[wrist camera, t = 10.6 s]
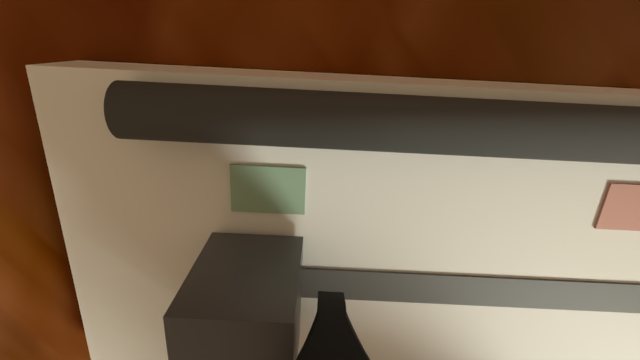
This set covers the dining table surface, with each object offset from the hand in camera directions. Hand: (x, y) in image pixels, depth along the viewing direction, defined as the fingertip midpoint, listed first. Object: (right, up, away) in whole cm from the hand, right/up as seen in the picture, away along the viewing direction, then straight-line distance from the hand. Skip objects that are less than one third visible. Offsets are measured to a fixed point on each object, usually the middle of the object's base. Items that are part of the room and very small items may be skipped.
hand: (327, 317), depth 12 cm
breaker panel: (+4, +1, +4) cm, 6 cm away
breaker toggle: (-2, +1, +1) cm, 3 cm away
